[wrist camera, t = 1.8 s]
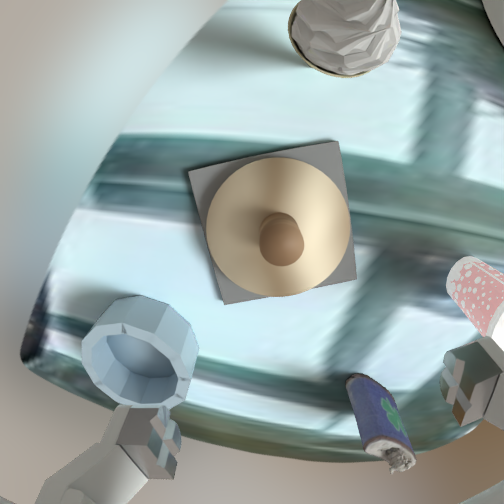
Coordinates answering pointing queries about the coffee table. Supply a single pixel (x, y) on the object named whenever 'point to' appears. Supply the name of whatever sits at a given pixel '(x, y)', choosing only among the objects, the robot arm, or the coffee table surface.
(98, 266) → the coffee table surface
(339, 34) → the ice cream cone
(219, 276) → the mat
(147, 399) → the bowl
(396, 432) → the flask
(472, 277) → the beverage cup
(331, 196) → the lid
